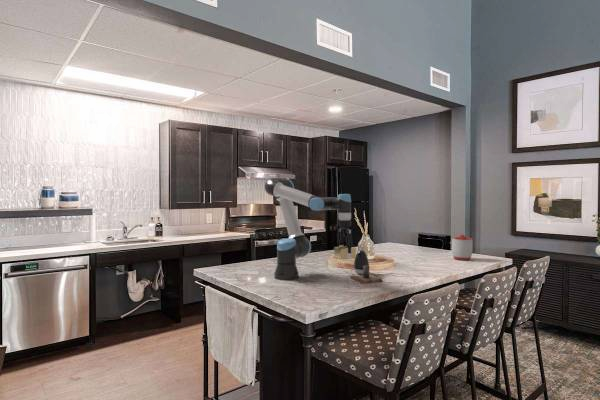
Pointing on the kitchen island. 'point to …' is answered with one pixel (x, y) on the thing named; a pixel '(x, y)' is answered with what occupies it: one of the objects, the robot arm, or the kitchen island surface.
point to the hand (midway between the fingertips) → (345, 257)
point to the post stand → (366, 277)
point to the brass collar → (344, 252)
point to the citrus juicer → (462, 247)
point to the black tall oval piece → (360, 262)
